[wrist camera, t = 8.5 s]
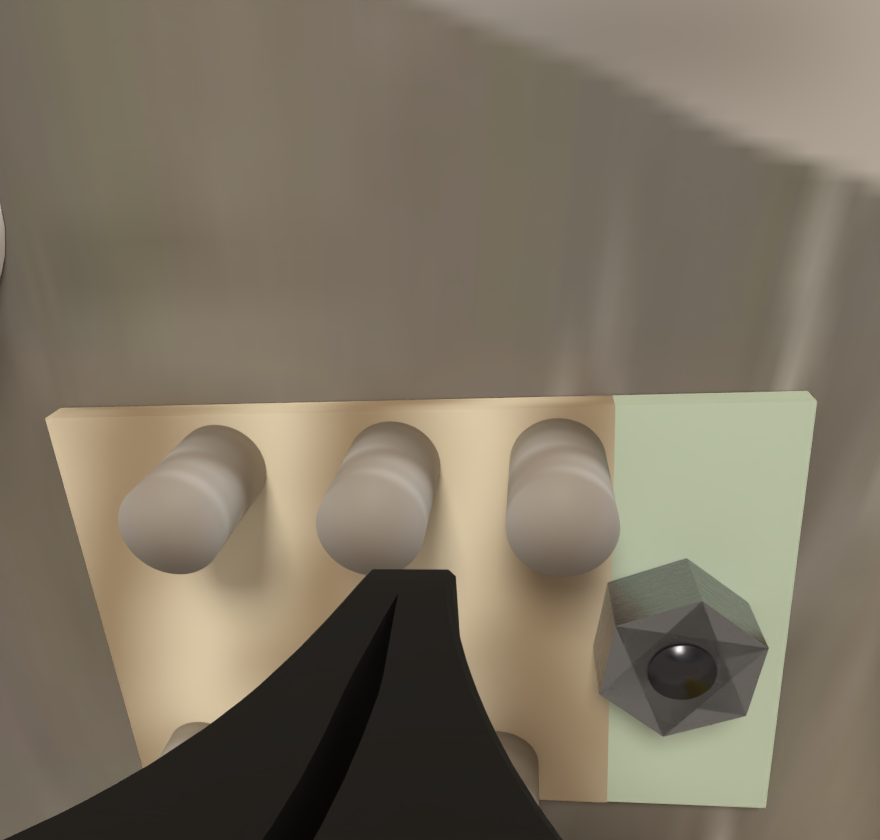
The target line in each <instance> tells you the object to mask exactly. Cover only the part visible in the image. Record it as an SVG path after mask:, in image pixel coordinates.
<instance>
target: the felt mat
mask: <svg viewBox="0 0 880 840" xmlns="http://www.w3.org/2000/svg"><path fill="white" fill-rule="evenodd" d="M612 396H613V399H614V403H615V450H614V496H615V501H616V505H617V510H618V515H619V520H620V536H619V539H618V543H617V545H616V547H615V549H614V551H613V552H612V581H614V580H617V579H620V578H624V577H627V576H630V575H633V574H637V573H640V572H643V571H646V570H650V569H653V568H656V567H660V566H663V565H666V564H669V563H673V562H676V561H679V560H683V559H686V558H687V559H689V560H690V561H691V562H693V563H694V564H696V565H697V566H698V567H700V568H701V569H703V570H704V571H705V572H707V573H708V574H709V575H711V576H712V577H714V578H715V579H716V580H718V581H719V582H721V583H722V584H723V585H725V586H726V587H728V588H729V589H730V590H732V591H733V592H735V593H736V594H737V595H739V596H740V597H741V598H743V599H744V600H746V601H747V602H748V603H749V605H750V607H751V610H752V612H753V614H754V616H755V618H756V621H757V623H758V625H759V627H760V630H761V632H762V634H763V636H764V638H765V641H766V643H767V645H768V647H769V650H768V653H767V656H766V659H765V662H764V665H763V667H762V670H761V673H760V676H759V679H758V682H757V685H756V688H755V691H754V694H753V697H752V700H751V703H750V706H749V709H748V712H747V715H746V716H744V717H740V718H736V719H732V720H728V721H724V722H720V723H716V724H712V725H708V726H704V727H701V728H697V729H693V730H689V731H685V732H681V733H677V734H673V735H669V736H665V737H663V736H661V735H660V734H658V733H657V732H655V731H654V730H652V729H651V728H649V727H648V726H646V725H645V724H643V723H642V722H640V721H639V720H637V719H636V718H634V717H633V716H631V715H630V714H628V713H627V712H625V711H624V710H622V709H621V708H619V707H618V706H616V705H615V704H613V703H612V702H610V701H609V733H608V781H607V801H611V802H635V803H659V804H682V805H706V806H730V807H754V808H766V801H767V793H768V785H769V777H770V769H771V761H772V753H773V745H774V737H775V729H776V722H777V714H778V706H779V698H780V690H781V682H782V674H783V666H784V658H785V650H786V643H787V635H788V627H789V619H790V611H791V603H792V595H793V587H794V579H795V571H796V564H797V556H798V548H799V540H800V532H801V524H802V516H803V508H804V500H805V492H806V484H807V477H808V469H809V461H810V453H811V445H812V437H813V429H814V421H815V413H816V405H817V401H816V400H815V399H814V398H813V397H812V395H811V394H810V393H809V392H808V391H786V392H742V393H698V394H654V395H612Z"/></svg>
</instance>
